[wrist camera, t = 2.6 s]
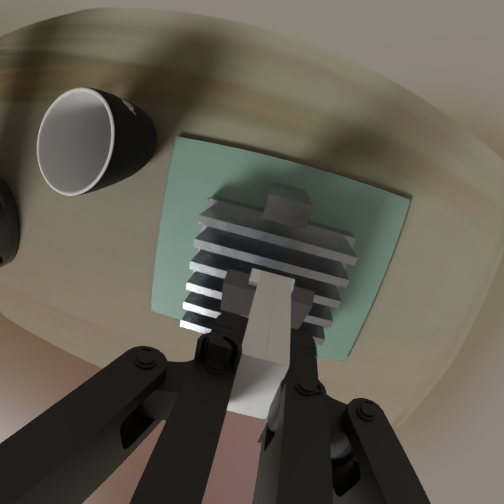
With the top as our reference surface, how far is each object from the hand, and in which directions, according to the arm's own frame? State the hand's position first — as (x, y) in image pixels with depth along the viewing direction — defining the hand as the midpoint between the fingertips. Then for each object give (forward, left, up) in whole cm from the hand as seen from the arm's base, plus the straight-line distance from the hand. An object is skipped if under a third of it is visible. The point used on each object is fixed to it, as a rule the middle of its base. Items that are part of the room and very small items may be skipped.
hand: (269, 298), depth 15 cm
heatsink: (0, -4, -15) cm, 15 cm away
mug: (-19, +6, -16) cm, 25 cm away
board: (0, -3, -15) cm, 16 cm away
